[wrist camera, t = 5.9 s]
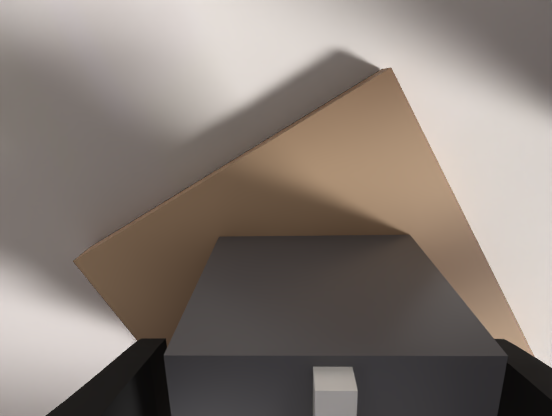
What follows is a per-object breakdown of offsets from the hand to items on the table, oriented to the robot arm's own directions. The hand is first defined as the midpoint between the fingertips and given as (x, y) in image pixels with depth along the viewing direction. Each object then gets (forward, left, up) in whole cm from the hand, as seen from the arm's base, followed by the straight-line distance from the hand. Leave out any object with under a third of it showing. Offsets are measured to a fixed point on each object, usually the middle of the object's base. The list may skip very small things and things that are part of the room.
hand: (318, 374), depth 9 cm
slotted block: (0, 0, -2) cm, 2 cm away
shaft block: (0, 0, -3) cm, 3 cm away
